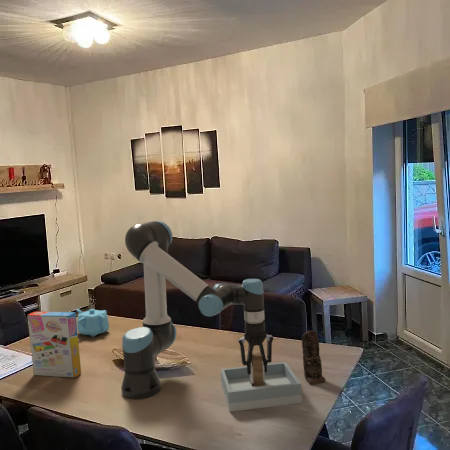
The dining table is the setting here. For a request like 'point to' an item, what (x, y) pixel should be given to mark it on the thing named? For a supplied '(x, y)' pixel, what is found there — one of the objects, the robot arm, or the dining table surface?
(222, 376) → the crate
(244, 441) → the dining table surface
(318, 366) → the statue
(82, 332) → the teapot
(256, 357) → the peg
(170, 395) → the dining table surface
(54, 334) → the game box
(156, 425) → the dining table surface
